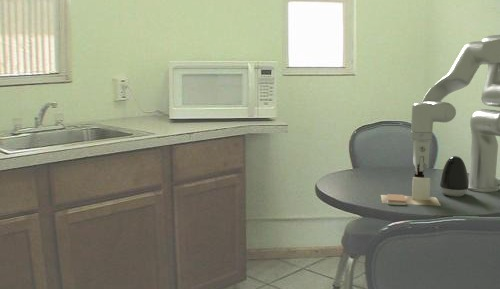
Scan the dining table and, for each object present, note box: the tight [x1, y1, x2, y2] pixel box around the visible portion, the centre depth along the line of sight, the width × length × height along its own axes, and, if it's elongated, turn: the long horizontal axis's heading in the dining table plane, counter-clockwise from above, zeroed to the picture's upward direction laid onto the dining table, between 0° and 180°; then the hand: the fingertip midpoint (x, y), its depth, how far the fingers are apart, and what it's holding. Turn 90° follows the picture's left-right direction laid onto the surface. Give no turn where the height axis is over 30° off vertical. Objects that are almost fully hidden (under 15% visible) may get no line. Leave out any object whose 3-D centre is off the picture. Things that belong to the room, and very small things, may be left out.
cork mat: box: [380, 194, 442, 207], centre depth 183 cm, size 20×11×1 cm, turn 78°
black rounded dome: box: [438, 155, 469, 198], centre depth 190 cm, size 10×10×15 cm
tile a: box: [411, 176, 432, 200], centre depth 184 cm, size 6×2×8 cm, turn 78°
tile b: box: [386, 193, 407, 206], centre depth 181 cm, size 6×2×8 cm
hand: (418, 184), depth 189 cm, fingers closed
